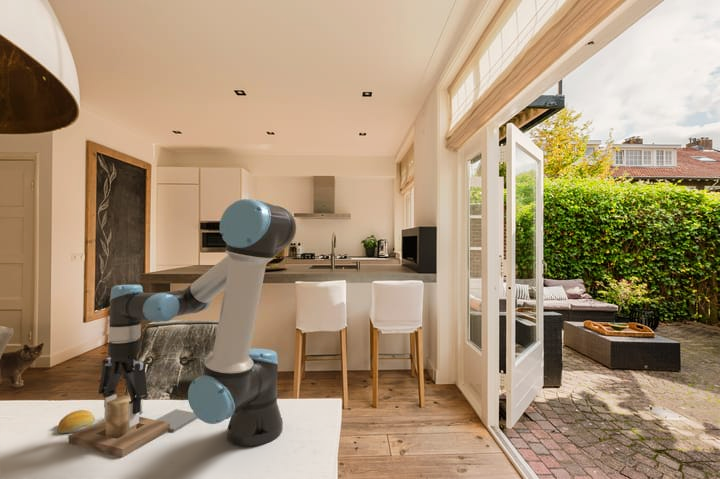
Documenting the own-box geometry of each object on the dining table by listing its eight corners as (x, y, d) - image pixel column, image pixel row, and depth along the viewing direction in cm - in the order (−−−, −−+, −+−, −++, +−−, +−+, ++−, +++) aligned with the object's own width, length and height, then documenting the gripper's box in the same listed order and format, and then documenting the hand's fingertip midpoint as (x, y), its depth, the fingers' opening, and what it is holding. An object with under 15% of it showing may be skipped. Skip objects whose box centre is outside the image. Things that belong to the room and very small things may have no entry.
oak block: (136, 433, 95) (137, 397, 96) (118, 442, 91) (120, 404, 91) (123, 430, 97) (124, 395, 97) (105, 439, 92) (106, 402, 93)
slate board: (200, 416, 106) (200, 413, 106) (173, 432, 96) (174, 429, 96) (175, 411, 109) (176, 409, 109) (147, 426, 99) (147, 423, 99)
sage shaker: (145, 412, 108) (146, 384, 109) (133, 418, 104) (134, 389, 105) (136, 410, 109) (137, 382, 110) (123, 416, 106) (125, 387, 106)
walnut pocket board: (170, 430, 97) (170, 423, 97) (122, 457, 84) (122, 449, 84) (119, 419, 103) (120, 412, 104) (68, 443, 90) (68, 435, 90)
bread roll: (57, 438, 93) (58, 423, 93) (58, 425, 100) (59, 412, 100) (95, 428, 99) (96, 414, 99) (93, 417, 105) (94, 404, 106)
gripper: (164, 339, 95) (162, 422, 94) (111, 334, 102) (108, 410, 101) (140, 346, 88) (136, 435, 87) (84, 339, 95) (80, 422, 94)
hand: (121, 422), depth 94 cm, fingers open, 8 cm apart
